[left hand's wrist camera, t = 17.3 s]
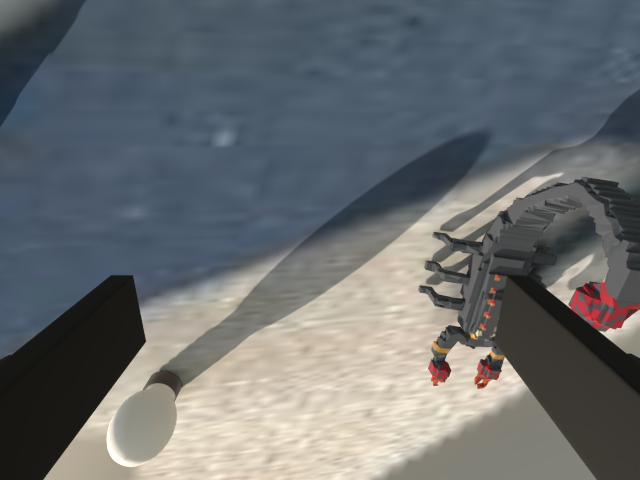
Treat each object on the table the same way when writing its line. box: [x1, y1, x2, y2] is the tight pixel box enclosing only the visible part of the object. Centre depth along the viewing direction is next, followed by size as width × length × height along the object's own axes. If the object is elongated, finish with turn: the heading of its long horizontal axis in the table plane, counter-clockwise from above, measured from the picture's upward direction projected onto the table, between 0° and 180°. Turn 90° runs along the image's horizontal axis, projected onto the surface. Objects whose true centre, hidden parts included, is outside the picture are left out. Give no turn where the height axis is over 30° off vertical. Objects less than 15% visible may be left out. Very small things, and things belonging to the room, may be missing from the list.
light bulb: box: [107, 372, 181, 467], centre depth 42 cm, size 7×7×11 cm
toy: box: [419, 177, 640, 389], centre depth 33 cm, size 13×27×18 cm, turn 172°
